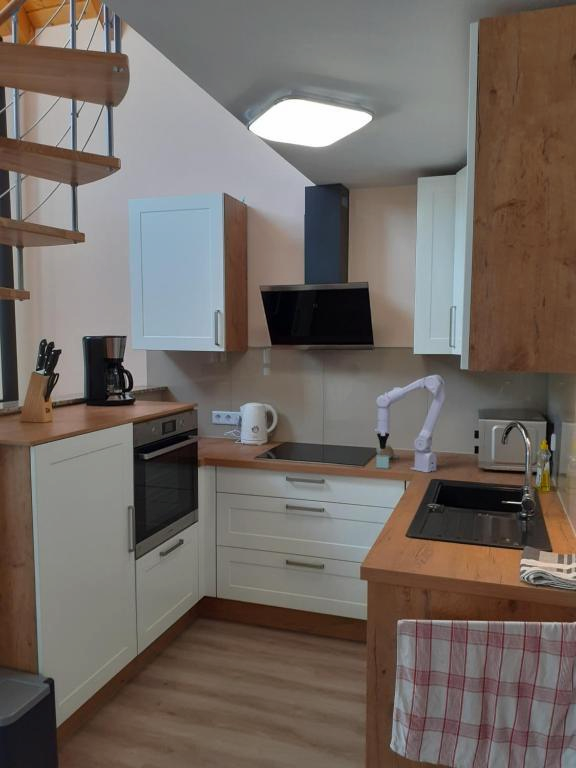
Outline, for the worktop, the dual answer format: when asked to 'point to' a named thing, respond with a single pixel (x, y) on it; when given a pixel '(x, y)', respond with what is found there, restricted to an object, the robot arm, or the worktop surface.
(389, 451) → the ceramic mug
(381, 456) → the tile
